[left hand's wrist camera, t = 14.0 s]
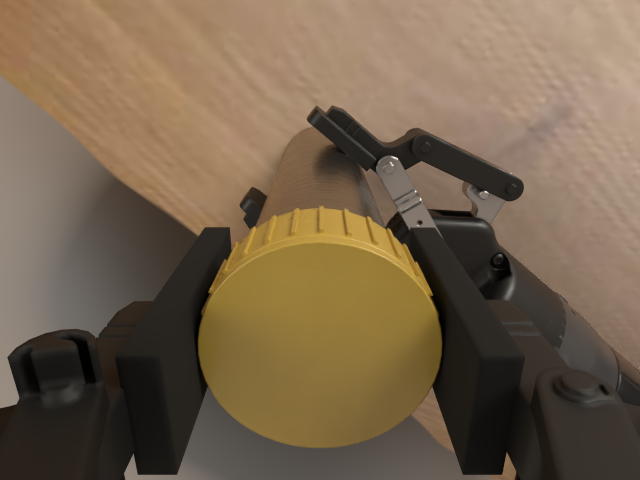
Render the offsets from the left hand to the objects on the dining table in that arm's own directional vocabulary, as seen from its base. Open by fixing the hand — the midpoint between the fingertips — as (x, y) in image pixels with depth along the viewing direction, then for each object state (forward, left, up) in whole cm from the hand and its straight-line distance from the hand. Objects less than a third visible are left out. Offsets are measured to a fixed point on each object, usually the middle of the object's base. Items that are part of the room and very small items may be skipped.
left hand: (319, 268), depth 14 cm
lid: (0, 0, +4) cm, 4 cm away
